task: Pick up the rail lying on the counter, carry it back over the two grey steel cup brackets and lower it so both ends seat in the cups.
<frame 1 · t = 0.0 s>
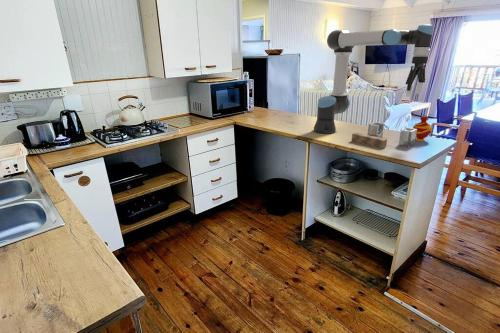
hand: (413, 95, 169), 28 cm above the worktop, fingers open, 13 cm apart
potion bottle: (419, 140, 182), on the worktop
bracket b: (406, 144, 175), on the worktop
bracket a: (374, 137, 189), on the worktop
rail: (368, 144, 177), on the worktop
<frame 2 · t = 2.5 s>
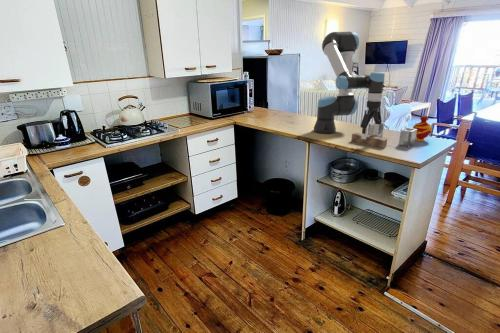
hand: (369, 136, 175), 5 cm above the worktop, fingers open, 13 cm apart
nothing on the worktop moved.
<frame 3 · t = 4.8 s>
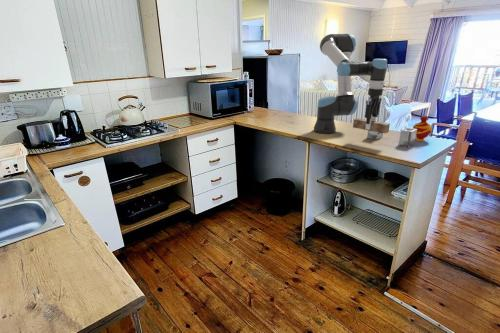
hand: (369, 128, 174), 9 cm above the worktop, fingers closed on rail, 4 cm apart
rail: (370, 129, 174), point 9 cm above the worktop, touching gripper
everything else where it was.
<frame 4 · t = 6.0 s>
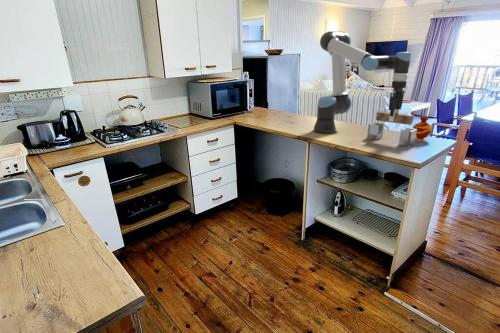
hand: (393, 120, 177), 13 cm above the worktop, fingers closed on rail, 4 cm apart
rail: (393, 121, 177), point 12 cm above the worktop, touching gripper
everything else where it was.
when the fingers open (2 cm above the worktop, at t = 7.7 s): rail stays where it is, resting on bracket a, bracket b.
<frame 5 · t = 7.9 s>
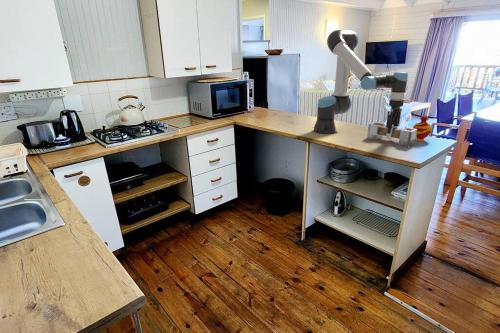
hand: (390, 137, 181), 2 cm above the worktop, fingers open, 5 cm apart
rail: (391, 136, 181), point 3 cm above the worktop, touching bracket a, bracket b
everything else where it was.
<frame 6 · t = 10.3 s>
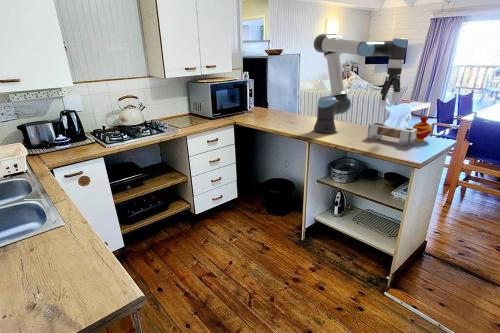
hand: (388, 104, 177), 22 cm above the worktop, fingers open, 13 cm apart
nothing on the worktop moved.
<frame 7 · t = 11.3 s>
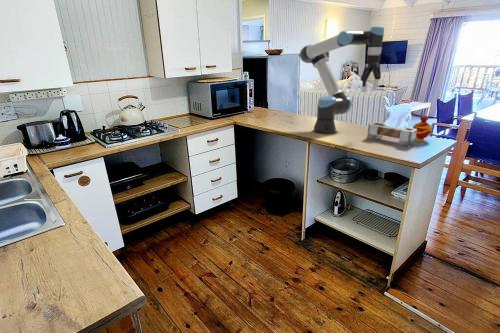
hand: (369, 90, 185), 29 cm above the worktop, fingers open, 13 cm apart
nothing on the worktop moved.
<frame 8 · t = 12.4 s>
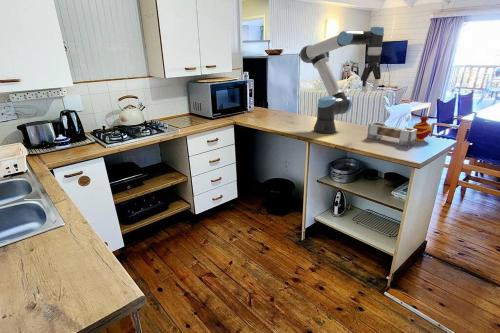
hand: (369, 90, 185), 29 cm above the worktop, fingers open, 13 cm apart
nothing on the worktop moved.
at the end: rail 0.4 cm from the target spot, point 3.0 cm above the worktop; rail touching bracket a, bracket b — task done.
